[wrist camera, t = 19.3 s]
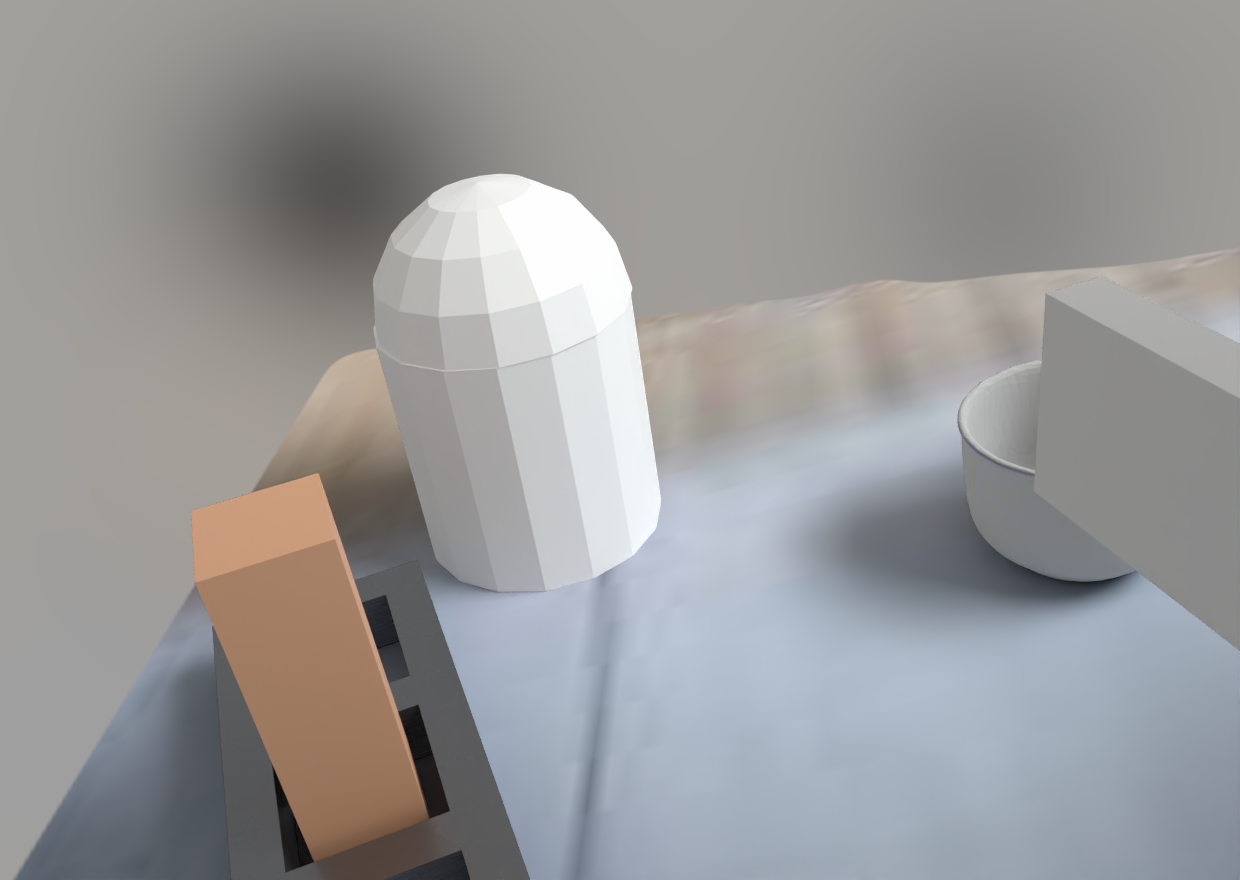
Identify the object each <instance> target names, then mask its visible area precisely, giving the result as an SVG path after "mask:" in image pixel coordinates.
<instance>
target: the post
mask: <svg viewBox="0 0 1240 880" xmlns="http://www.w3.org/2000/svg"><path fill="white" fill-rule="evenodd" d="M191 521H192V539H193V557H194V575H195V584H196V586H197V589H198V591H199V593H200V596H201V598H202V600H203V603H204V605H205V607H206V610H207V612H208V615H209V617H210V619H211V622H212V624H213V626H214V629H215V631H216V633H217V636H218V638H219V640H220V643H221V645H222V647H223V650H224V652H225V654H226V657H227V659H228V661H229V664H230V666H231V668H232V671H233V673H234V675H235V678H236V680H237V682H238V685H239V687H240V689H241V692H242V694H243V696H244V699H245V701H246V704H247V706H248V708H249V711H250V713H251V715H252V718H253V720H254V722H255V725H256V727H257V729H258V732H259V734H260V736H261V739H262V741H263V743H264V746H265V748H266V750H267V753H268V755H269V757H270V760H271V762H272V764H273V767H274V769H275V771H276V774H277V776H278V778H279V781H280V783H281V785H282V788H283V790H284V793H285V795H286V797H287V800H288V802H289V804H290V807H291V809H292V811H293V814H294V816H295V818H296V821H297V823H298V825H299V828H300V830H301V832H302V835H303V837H304V839H305V842H306V844H307V846H308V849H309V851H310V853H311V856H312V858H313V860H314V862H316V861H318V860H321V859H324V858H326V857H329V856H332V855H334V854H337V853H340V852H342V851H345V850H348V849H350V848H353V847H356V846H358V845H361V844H364V843H366V842H369V841H372V840H374V839H377V838H380V837H382V836H385V835H388V834H390V833H393V832H396V831H398V830H401V829H404V828H406V827H409V826H412V825H414V824H417V823H420V822H422V821H425V820H428V819H430V818H431V816H430V813H429V809H428V806H427V802H426V798H425V795H424V791H423V787H422V784H421V780H420V777H419V773H418V770H417V767H416V764H415V761H414V758H413V755H412V752H411V749H410V746H409V743H408V740H407V737H406V734H405V731H404V728H403V725H402V722H401V719H400V716H399V713H398V710H397V707H396V704H395V701H394V698H393V695H392V692H391V689H390V686H389V683H388V680H387V677H386V674H385V671H384V668H383V665H382V662H381V659H380V656H379V653H378V650H377V647H376V644H375V641H374V638H373V635H372V632H371V629H370V626H369V623H368V620H367V617H366V614H365V611H364V608H363V605H362V602H361V599H360V596H359V593H358V590H357V587H356V584H355V581H354V578H353V575H352V572H351V569H350V566H349V563H348V560H347V557H346V554H345V551H344V548H343V545H342V542H341V539H340V536H339V533H338V530H337V527H336V524H335V521H334V518H333V515H332V512H331V509H330V506H329V503H328V500H327V497H326V494H325V491H324V488H323V485H322V482H321V479H320V476H319V473H316V474H313V475H310V476H306V477H303V478H299V479H296V480H293V481H289V482H286V483H283V484H279V485H276V486H273V487H269V488H266V489H263V490H259V491H256V492H253V493H249V494H246V495H243V496H240V497H236V498H233V499H229V500H226V501H223V502H219V503H216V504H213V505H209V506H206V507H203V508H199V509H196V510H193V511H191Z"/></svg>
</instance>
